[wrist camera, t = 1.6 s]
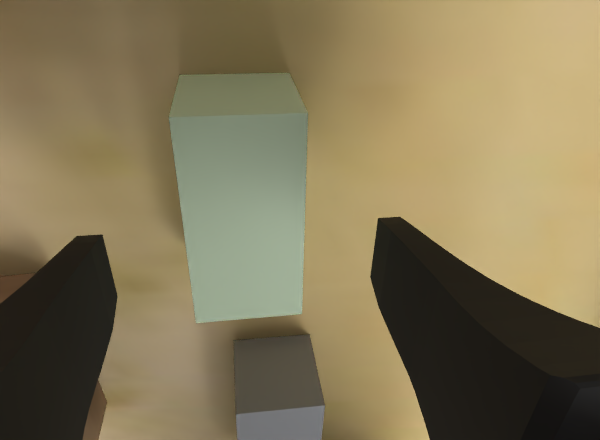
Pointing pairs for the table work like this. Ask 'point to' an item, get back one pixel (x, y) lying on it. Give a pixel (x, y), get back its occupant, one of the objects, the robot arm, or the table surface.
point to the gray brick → (277, 389)
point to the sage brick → (241, 192)
